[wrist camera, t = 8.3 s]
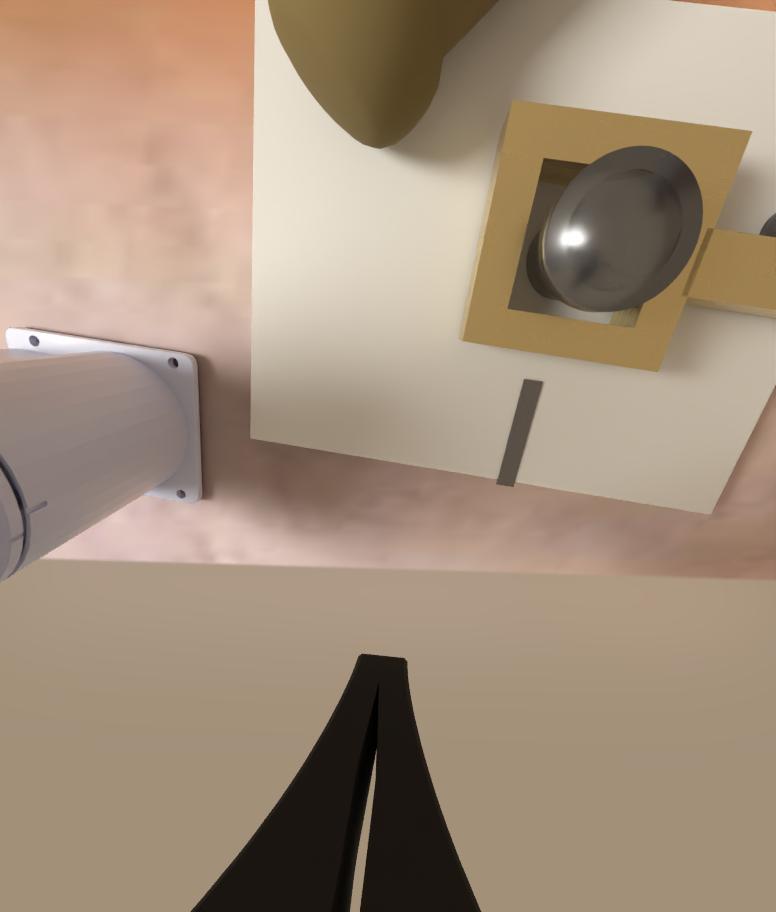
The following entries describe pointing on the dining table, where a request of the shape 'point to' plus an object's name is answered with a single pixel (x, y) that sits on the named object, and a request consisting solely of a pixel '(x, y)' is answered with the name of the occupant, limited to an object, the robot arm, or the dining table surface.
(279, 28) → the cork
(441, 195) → the board
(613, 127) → the collar
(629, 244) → the dark metal domed fitting
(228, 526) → the dining table surface
